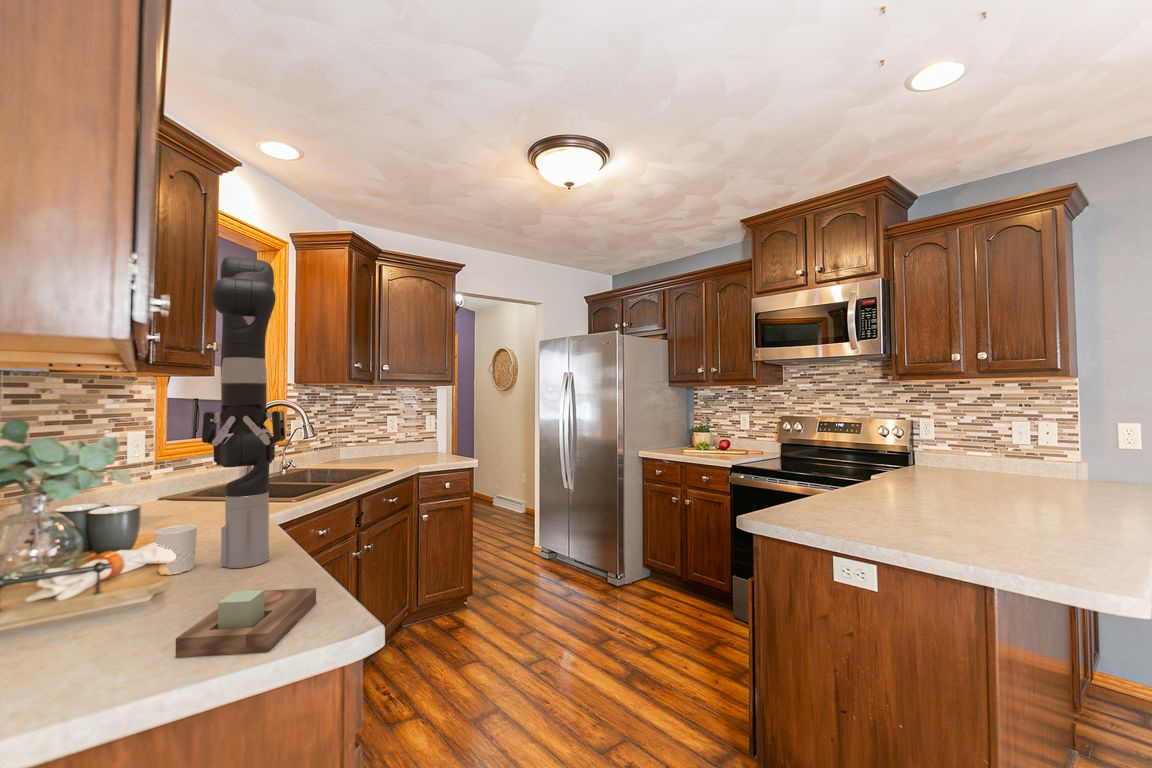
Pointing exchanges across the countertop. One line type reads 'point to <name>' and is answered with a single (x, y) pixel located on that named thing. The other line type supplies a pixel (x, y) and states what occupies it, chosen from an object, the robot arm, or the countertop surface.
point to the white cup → (179, 545)
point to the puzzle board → (278, 620)
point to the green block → (241, 610)
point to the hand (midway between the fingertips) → (244, 464)
